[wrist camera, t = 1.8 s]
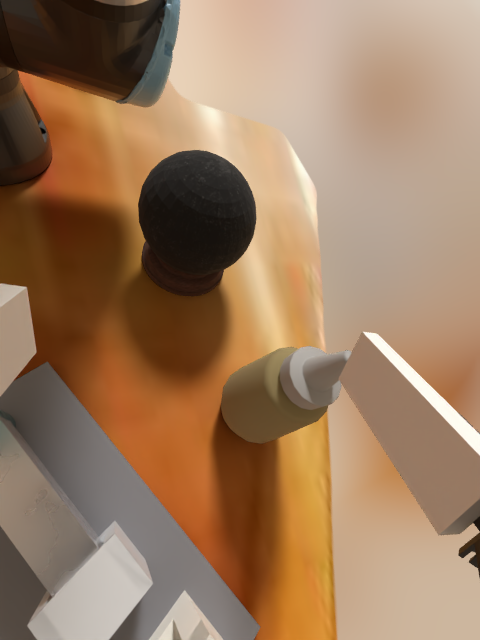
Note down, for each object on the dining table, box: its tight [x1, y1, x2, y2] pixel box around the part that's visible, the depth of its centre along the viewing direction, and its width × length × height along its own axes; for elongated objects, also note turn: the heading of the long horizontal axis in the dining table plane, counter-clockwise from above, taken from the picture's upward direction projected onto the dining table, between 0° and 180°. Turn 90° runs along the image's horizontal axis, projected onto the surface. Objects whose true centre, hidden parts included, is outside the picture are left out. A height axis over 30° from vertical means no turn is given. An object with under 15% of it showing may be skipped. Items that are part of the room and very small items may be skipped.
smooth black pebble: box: [138, 150, 256, 296], centre depth 33 cm, size 13×13×15 cm
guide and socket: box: [0, 362, 260, 640], centre depth 19 cm, size 30×12×8 cm, turn 47°
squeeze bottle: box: [221, 346, 352, 444], centre depth 25 cm, size 8×8×18 cm
